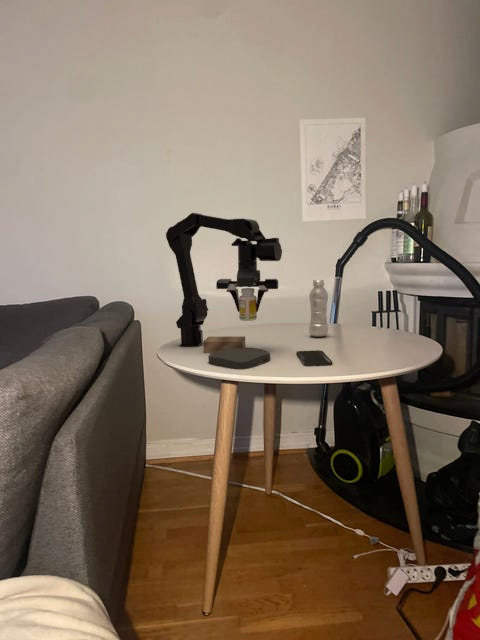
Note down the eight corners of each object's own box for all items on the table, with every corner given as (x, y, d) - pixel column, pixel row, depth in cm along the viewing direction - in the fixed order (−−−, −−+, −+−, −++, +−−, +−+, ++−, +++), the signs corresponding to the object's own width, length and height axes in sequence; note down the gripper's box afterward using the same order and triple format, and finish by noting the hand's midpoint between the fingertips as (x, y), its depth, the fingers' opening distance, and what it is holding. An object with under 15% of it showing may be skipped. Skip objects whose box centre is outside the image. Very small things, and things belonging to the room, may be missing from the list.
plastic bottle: (306, 335, 155) (306, 280, 152) (324, 334, 156) (324, 279, 153) (312, 339, 149) (312, 281, 146) (331, 337, 150) (331, 280, 147)
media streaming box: (202, 364, 120) (202, 353, 120) (236, 354, 131) (236, 344, 131) (243, 372, 111) (242, 360, 110) (275, 360, 122) (275, 350, 121)
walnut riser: (203, 353, 132) (203, 341, 132) (209, 347, 140) (208, 336, 140) (242, 353, 131) (242, 341, 130) (245, 347, 138) (245, 336, 138)
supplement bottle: (257, 318, 136) (257, 287, 135) (256, 321, 131) (256, 289, 130) (240, 318, 137) (239, 287, 135) (238, 321, 132) (238, 289, 130)
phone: (321, 350, 128) (333, 362, 113) (321, 354, 128) (333, 366, 113) (295, 351, 128) (303, 363, 113) (295, 354, 128) (303, 367, 113)
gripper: (212, 262, 124) (213, 315, 127) (277, 261, 122) (276, 315, 125) (219, 261, 135) (219, 310, 138) (278, 260, 133) (278, 310, 135)
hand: (247, 311), depth 134 cm, fingers closed on supplement bottle, 5 cm apart
